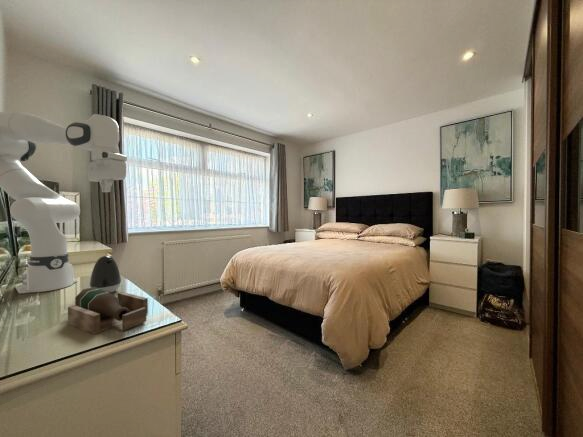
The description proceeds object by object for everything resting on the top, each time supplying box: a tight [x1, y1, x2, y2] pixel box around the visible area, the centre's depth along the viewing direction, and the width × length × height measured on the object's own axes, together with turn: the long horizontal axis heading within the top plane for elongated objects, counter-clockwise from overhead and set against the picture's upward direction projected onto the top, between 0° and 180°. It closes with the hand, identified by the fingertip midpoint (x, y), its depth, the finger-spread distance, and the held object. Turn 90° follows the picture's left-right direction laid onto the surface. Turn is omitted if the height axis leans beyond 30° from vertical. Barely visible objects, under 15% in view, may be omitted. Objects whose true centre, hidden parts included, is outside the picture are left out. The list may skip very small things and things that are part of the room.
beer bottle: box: [74, 287, 129, 321], centre depth 74 cm, size 8×8×24 cm
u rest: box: [67, 291, 149, 336], centre depth 73 cm, size 20×15×5 cm
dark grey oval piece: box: [89, 255, 122, 294], centre depth 98 cm, size 10×10×15 cm
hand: (106, 192), depth 95 cm, fingers closed
